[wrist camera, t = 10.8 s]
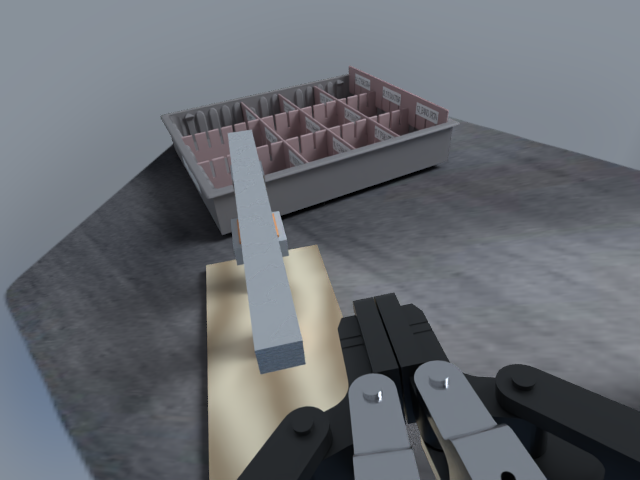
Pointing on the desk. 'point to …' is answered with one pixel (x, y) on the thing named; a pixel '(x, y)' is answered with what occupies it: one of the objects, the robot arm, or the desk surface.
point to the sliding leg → (237, 238)
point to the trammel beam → (263, 263)
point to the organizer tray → (311, 141)
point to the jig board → (242, 367)
